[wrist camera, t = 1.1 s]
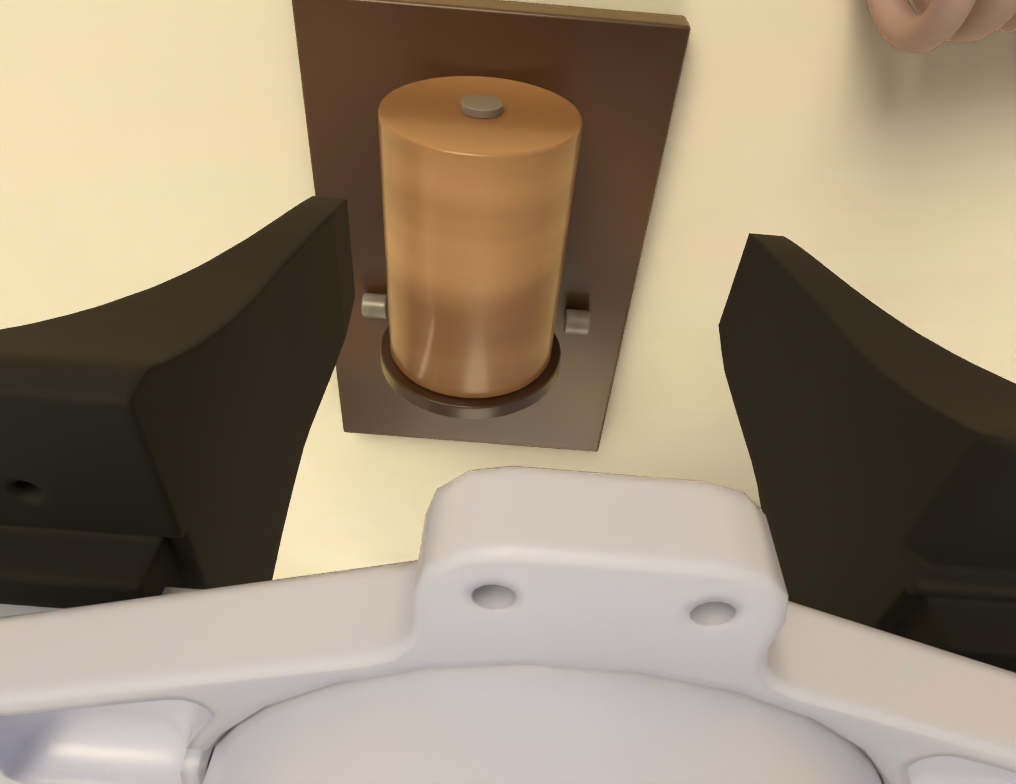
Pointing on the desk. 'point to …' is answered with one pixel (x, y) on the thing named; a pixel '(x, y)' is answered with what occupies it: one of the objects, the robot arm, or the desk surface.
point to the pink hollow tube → (940, 21)
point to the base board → (597, 193)
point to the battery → (475, 241)
